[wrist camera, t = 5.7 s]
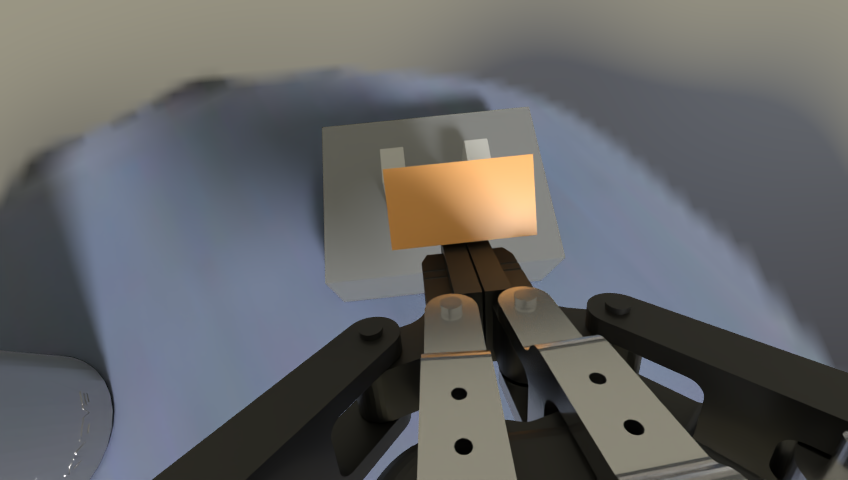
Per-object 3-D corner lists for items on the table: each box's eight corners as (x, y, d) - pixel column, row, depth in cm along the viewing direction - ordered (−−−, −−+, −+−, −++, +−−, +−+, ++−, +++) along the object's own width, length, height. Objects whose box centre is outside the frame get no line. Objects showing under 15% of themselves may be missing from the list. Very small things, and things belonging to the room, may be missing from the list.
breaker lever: (399, 214, 22) (391, 250, 12) (394, 170, 22) (382, 169, 11) (477, 205, 22) (537, 234, 12) (474, 162, 22) (533, 153, 12)
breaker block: (344, 302, 26) (309, 267, 18) (339, 168, 29) (307, 94, 22) (541, 280, 26) (585, 238, 19) (513, 150, 30) (541, 71, 22)
